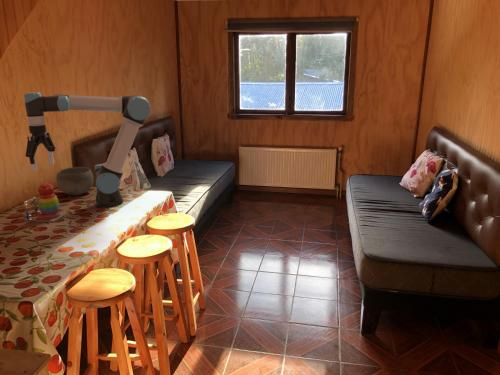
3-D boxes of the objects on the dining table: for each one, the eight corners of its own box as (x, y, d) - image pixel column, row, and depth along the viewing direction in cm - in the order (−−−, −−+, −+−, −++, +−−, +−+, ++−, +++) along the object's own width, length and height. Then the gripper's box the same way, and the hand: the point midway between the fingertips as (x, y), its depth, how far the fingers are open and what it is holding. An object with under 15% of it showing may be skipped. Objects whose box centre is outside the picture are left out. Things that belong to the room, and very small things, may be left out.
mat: (67, 214, 224) (67, 213, 224) (53, 222, 213) (53, 221, 213) (47, 213, 227) (46, 212, 226) (32, 220, 215) (32, 219, 215)
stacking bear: (46, 212, 225) (42, 180, 220) (64, 213, 224) (60, 180, 219) (34, 219, 215) (29, 186, 210) (53, 220, 214) (48, 186, 209)
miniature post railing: (48, 211, 229) (45, 196, 227) (29, 221, 215) (26, 205, 212) (35, 210, 231) (33, 195, 228) (15, 220, 216) (12, 204, 214)
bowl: (88, 198, 253) (85, 173, 248) (52, 198, 252) (49, 174, 248) (99, 188, 273) (96, 165, 269) (67, 189, 272) (64, 166, 268)
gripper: (45, 121, 220) (51, 161, 225) (12, 128, 196) (19, 172, 202) (59, 121, 219) (64, 161, 224) (27, 128, 195) (34, 173, 201)
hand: (43, 167), depth 213 cm, fingers open, 13 cm apart
